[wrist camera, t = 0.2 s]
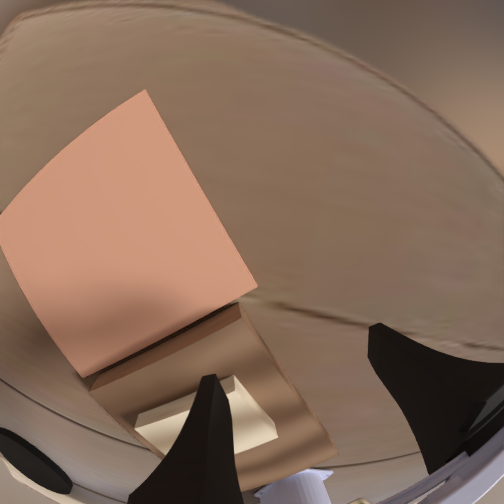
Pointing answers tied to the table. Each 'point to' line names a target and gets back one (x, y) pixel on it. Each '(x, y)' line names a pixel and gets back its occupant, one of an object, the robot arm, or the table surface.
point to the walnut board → (224, 365)
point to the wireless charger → (33, 463)
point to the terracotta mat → (119, 241)
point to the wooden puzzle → (359, 501)
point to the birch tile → (175, 413)
